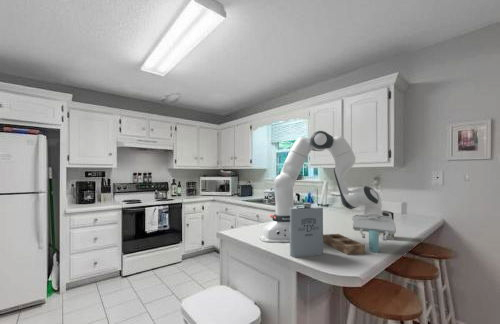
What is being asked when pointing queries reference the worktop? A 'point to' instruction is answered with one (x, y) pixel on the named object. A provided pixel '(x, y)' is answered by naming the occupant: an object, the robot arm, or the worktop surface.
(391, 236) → the coffee box
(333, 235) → the wooden compartment tray
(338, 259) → the worktop surface
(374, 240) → the peg
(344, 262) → the worktop surface
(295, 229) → the flask
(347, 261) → the worktop surface
